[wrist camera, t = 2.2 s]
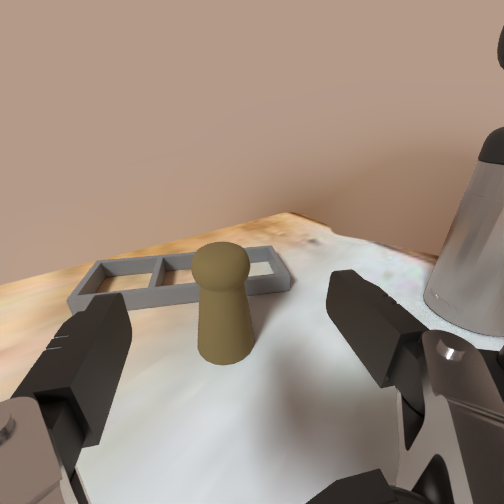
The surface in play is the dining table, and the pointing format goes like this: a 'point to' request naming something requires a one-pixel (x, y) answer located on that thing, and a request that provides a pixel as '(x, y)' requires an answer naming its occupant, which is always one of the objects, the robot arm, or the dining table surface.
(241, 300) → the cork
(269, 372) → the dining table surface
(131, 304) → the frame
